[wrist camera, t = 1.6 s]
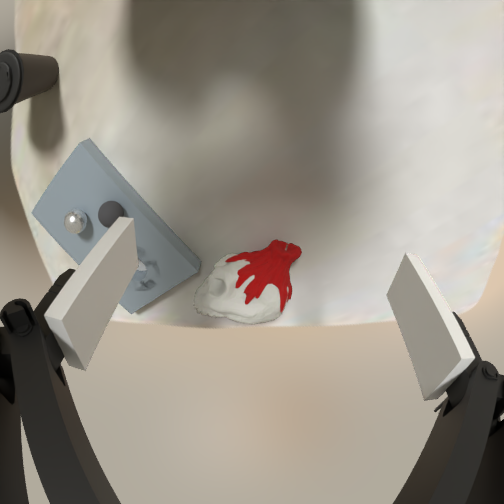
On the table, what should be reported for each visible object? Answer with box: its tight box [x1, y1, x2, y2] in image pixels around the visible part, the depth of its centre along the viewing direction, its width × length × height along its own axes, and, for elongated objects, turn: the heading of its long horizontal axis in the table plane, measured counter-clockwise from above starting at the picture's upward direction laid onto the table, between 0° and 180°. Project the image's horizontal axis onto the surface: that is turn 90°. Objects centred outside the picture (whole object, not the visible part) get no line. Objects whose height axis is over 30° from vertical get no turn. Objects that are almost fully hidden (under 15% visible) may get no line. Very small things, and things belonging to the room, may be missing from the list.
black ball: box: [98, 201, 124, 228], centre depth 35 cm, size 4×4×4 cm
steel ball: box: [64, 208, 87, 234], centre depth 36 cm, size 4×4×4 cm
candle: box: [194, 240, 302, 324], centre depth 40 cm, size 9×11×15 cm
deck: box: [32, 138, 201, 314], centre depth 40 cm, size 24×16×2 cm, turn 37°
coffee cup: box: [0, 49, 59, 113], centre depth 24 cm, size 8×8×10 cm
